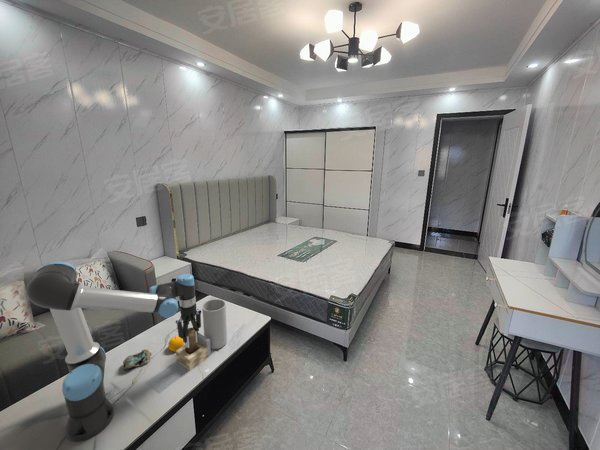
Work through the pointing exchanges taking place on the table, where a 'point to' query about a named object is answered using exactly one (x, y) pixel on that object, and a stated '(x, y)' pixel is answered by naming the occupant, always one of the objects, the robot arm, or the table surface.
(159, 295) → the robot arm
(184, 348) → the block
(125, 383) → the table surface
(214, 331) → the cylinder vase
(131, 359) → the mineral specimen
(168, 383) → the grey corner bracket
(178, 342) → the orange
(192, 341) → the dowel
